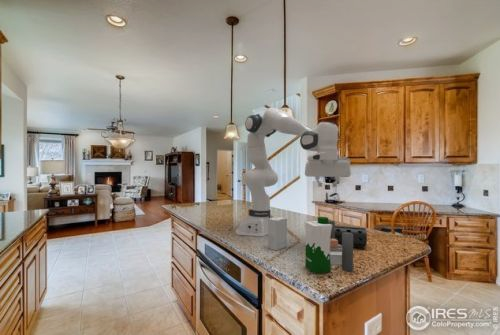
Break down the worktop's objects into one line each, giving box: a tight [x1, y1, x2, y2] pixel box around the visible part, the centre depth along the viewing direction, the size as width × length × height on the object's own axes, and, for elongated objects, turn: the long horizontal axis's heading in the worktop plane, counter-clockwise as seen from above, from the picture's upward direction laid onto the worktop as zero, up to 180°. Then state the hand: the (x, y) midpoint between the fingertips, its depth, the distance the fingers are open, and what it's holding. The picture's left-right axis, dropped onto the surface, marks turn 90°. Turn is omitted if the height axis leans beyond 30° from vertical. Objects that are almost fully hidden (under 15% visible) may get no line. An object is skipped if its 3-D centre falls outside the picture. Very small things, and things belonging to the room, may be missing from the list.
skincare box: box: [267, 215, 288, 251], centre depth 117 cm, size 8×6×15 cm
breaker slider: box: [330, 239, 339, 249], centre depth 103 cm, size 3×3×4 cm
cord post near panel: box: [328, 220, 336, 239], centre depth 114 cm, size 4×4×14 cm
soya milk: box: [304, 216, 332, 274], centre depth 92 cm, size 9×9×20 cm
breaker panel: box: [330, 244, 342, 266], centre depth 104 cm, size 11×14×6 cm
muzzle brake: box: [335, 225, 368, 248], centre depth 123 cm, size 10×28×10 cm, turn 73°
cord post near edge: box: [341, 232, 354, 273], centre depth 92 cm, size 4×4×14 cm
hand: (327, 186), depth 108 cm, fingers open, 5 cm apart
